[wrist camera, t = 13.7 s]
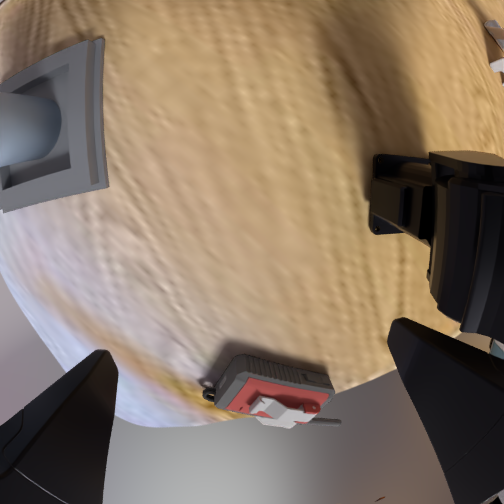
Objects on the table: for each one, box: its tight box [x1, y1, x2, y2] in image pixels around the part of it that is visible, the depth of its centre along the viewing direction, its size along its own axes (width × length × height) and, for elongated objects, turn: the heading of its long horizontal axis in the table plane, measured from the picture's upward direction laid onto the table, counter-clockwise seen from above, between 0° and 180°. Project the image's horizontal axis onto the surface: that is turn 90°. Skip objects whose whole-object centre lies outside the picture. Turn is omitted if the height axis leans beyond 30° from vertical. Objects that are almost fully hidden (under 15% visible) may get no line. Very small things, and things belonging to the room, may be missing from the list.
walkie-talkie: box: [202, 354, 341, 429], centre depth 26 cm, size 9×4×20 cm
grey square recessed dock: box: [0, 38, 109, 213], centre depth 14 cm, size 12×12×2 cm
